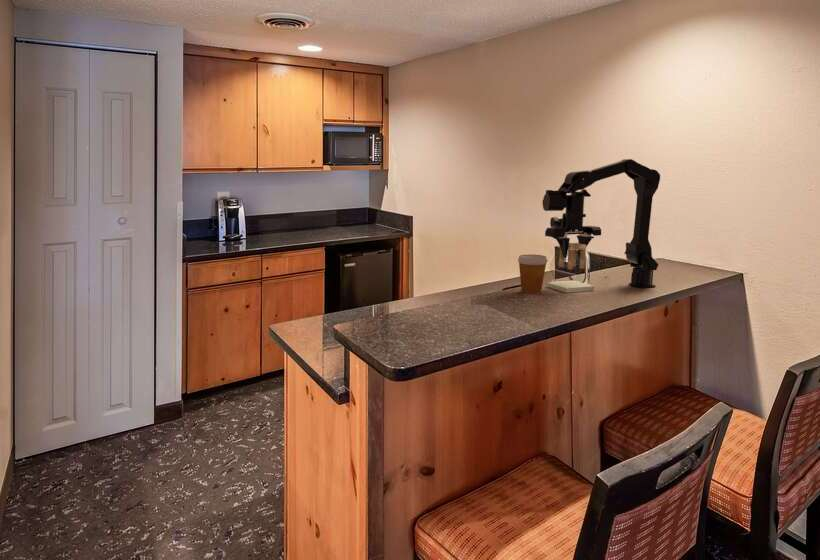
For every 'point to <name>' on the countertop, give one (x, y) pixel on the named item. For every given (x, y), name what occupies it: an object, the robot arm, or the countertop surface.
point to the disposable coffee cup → (532, 273)
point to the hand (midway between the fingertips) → (572, 257)
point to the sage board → (570, 286)
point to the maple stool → (574, 255)
